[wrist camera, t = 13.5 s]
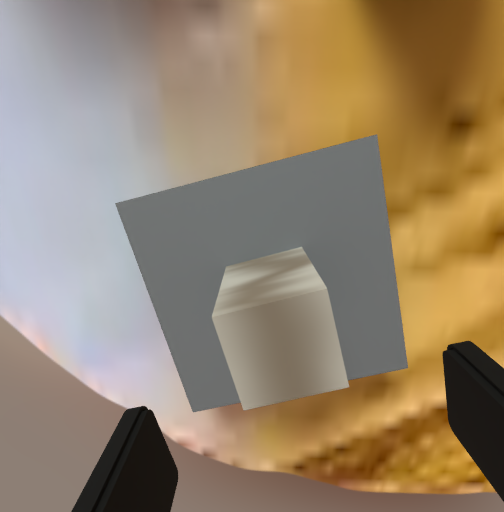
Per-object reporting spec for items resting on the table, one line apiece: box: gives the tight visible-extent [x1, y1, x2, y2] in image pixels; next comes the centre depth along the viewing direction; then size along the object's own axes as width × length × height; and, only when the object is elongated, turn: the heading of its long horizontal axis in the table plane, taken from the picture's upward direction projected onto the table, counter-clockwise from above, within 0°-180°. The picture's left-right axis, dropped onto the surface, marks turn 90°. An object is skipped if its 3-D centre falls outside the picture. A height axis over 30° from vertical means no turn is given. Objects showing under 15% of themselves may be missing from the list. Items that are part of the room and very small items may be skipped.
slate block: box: [115, 135, 408, 412], centre depth 23 cm, size 16×16×5 cm
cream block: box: [212, 247, 349, 410], centre depth 17 cm, size 5×5×7 cm
